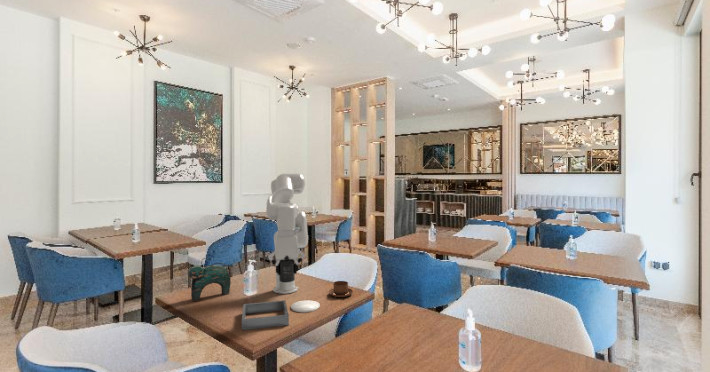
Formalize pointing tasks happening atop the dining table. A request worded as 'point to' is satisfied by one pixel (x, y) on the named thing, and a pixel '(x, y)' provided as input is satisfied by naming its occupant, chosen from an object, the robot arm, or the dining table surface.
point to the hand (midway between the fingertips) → (286, 273)
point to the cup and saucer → (340, 289)
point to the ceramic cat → (208, 278)
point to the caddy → (264, 321)
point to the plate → (305, 306)
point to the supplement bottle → (286, 270)
